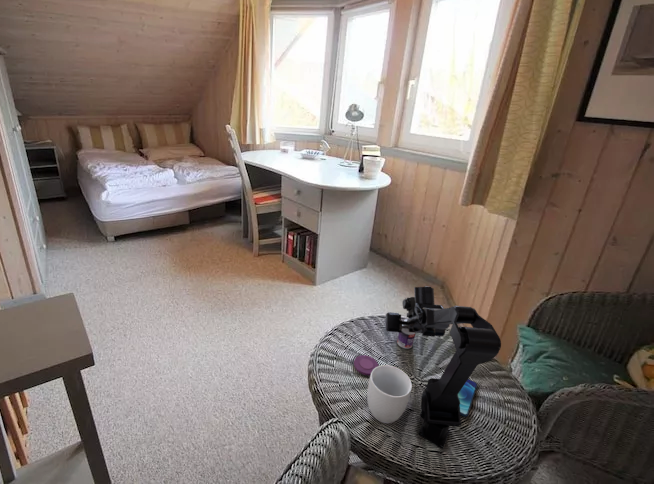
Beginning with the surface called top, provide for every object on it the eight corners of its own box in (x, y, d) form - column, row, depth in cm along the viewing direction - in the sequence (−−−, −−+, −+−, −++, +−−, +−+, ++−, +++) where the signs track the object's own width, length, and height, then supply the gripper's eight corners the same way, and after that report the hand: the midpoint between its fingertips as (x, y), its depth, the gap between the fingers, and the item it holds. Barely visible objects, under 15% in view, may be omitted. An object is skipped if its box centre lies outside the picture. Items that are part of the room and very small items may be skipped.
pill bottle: (407, 351, 124) (413, 329, 120) (393, 343, 127) (398, 321, 123) (415, 344, 127) (420, 323, 123) (401, 336, 131) (406, 315, 127)
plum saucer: (371, 379, 112) (372, 377, 112) (349, 367, 116) (349, 364, 116) (382, 365, 118) (382, 362, 117) (360, 353, 122) (360, 351, 122)
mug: (386, 384, 111) (394, 352, 105) (418, 409, 103) (428, 376, 97) (355, 410, 102) (362, 377, 96) (387, 438, 94) (396, 404, 89)
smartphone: (477, 383, 111) (467, 416, 100) (477, 385, 111) (466, 418, 100) (452, 371, 115) (439, 401, 104) (451, 373, 115) (439, 404, 104)
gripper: (450, 298, 113) (432, 305, 128) (391, 293, 114) (380, 301, 129) (453, 334, 109) (434, 337, 124) (392, 329, 111) (380, 333, 125)
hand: (407, 326), depth 126 cm, fingers open, 7 cm apart
